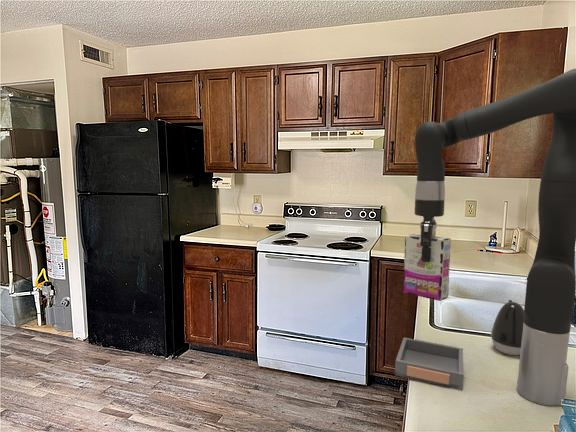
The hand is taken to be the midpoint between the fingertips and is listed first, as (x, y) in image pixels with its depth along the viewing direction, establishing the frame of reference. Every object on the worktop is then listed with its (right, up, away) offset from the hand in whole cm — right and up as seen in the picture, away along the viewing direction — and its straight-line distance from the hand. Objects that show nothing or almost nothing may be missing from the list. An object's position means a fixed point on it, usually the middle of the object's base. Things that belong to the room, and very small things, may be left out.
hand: (427, 259), depth 110 cm
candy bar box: (0, -10, +1) cm, 10 cm away
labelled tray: (0, -29, -2) cm, 29 cm away
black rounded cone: (+28, -29, +10) cm, 42 cm away
